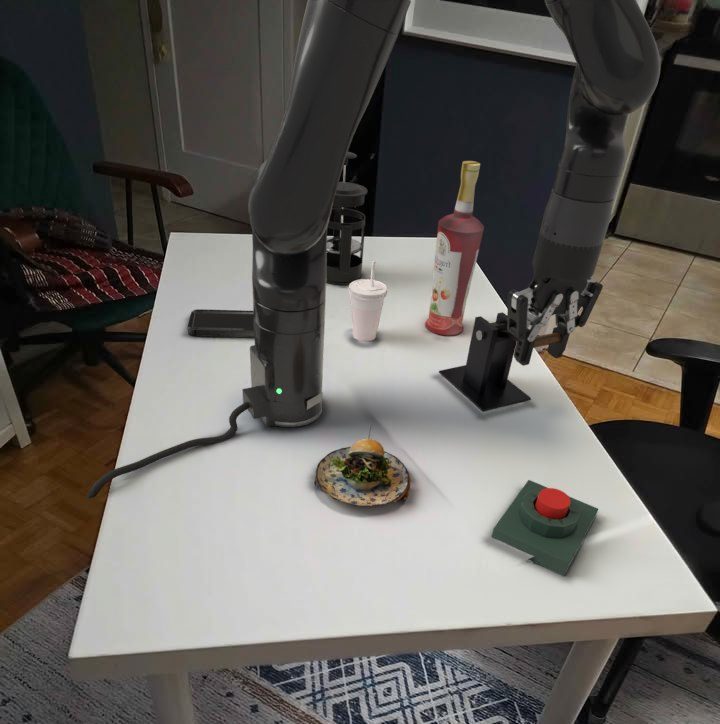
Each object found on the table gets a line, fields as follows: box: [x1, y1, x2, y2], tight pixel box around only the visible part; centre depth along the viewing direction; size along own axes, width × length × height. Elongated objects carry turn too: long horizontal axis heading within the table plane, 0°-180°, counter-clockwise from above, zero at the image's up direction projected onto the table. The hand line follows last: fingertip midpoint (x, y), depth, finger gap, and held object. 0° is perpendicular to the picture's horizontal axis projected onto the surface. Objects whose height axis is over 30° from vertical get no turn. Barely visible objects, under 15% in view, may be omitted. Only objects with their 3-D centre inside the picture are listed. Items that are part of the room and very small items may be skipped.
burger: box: [313, 425, 412, 507], centre depth 79 cm, size 12×12×8 cm
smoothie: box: [347, 259, 388, 342], centre depth 106 cm, size 6×6×14 cm
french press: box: [326, 151, 368, 286], centre depth 124 cm, size 12×9×23 cm
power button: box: [535, 487, 570, 520], centre depth 74 cm, size 4×4×2 cm
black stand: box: [438, 312, 532, 413], centre depth 97 cm, size 12×9×12 cm
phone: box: [187, 308, 254, 338], centre depth 111 cm, size 8×1×15 cm
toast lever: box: [490, 321, 561, 349], centre depth 91 cm, size 12×5×2 cm, turn 27°
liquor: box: [424, 160, 485, 337], centre depth 107 cm, size 7×7×28 cm
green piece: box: [491, 479, 599, 577], centre depth 76 cm, size 11×9×4 cm
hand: (538, 358), depth 88 cm, fingers closed on toast lever, 5 cm apart
